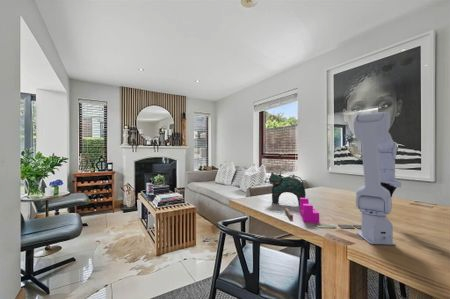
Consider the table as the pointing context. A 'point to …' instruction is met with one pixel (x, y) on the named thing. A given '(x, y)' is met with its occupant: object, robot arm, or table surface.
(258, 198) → the table surface
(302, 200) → the toy block
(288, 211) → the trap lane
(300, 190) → the ceramic cat
